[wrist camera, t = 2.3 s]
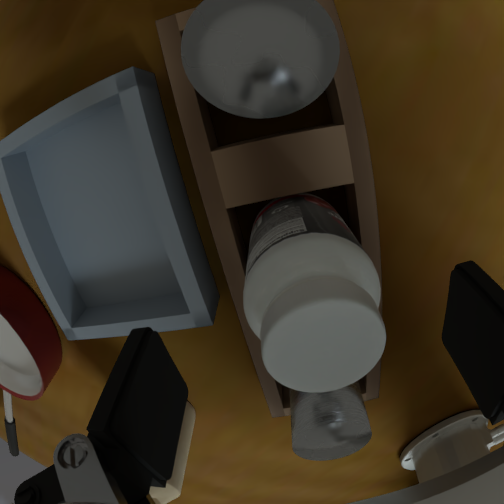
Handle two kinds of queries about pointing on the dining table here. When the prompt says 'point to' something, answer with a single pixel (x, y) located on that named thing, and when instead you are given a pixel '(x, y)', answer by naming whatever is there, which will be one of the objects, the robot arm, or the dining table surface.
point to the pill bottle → (312, 296)
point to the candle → (177, 461)
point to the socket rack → (277, 178)
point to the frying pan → (24, 347)
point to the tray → (107, 213)
